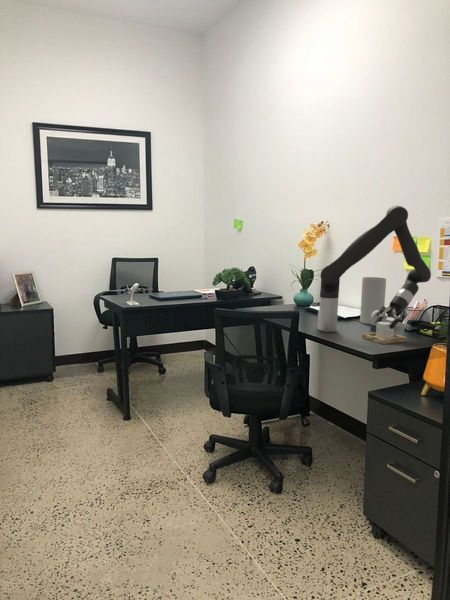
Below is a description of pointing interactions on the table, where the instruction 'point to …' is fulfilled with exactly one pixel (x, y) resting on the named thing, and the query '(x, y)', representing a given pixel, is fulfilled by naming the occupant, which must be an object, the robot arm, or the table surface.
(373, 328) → the watch
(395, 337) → the tray
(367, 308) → the cylinder vase
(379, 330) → the skincare box
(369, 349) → the table surface
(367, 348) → the table surface
